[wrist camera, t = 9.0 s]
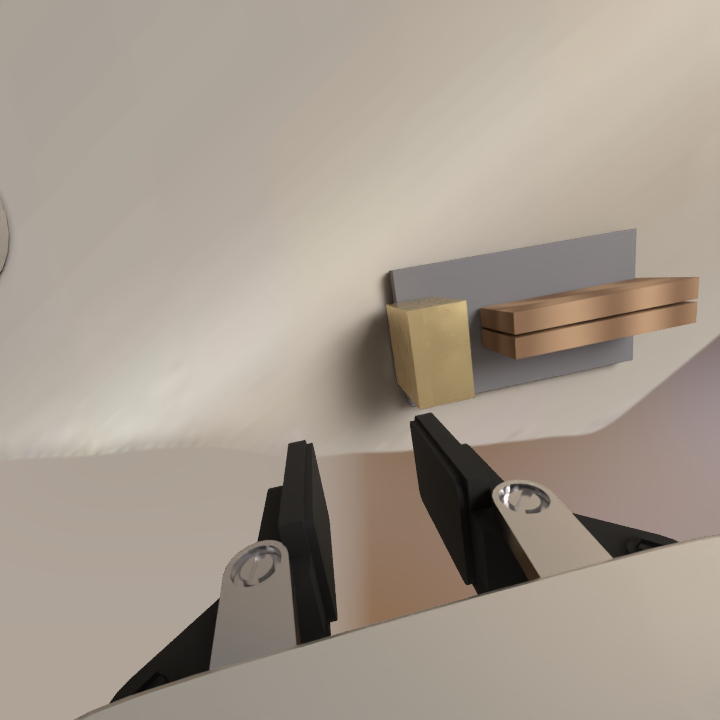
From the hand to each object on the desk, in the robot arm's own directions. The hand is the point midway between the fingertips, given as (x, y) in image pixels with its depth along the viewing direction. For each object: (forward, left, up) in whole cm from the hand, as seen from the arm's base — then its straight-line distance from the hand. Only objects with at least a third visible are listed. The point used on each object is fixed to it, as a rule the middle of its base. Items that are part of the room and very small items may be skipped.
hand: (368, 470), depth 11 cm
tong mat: (+17, 0, -19) cm, 26 cm away
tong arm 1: (+20, +1, -18) cm, 27 cm away
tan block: (+7, 0, -18) cm, 19 cm away
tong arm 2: (+21, -1, -18) cm, 27 cm away
